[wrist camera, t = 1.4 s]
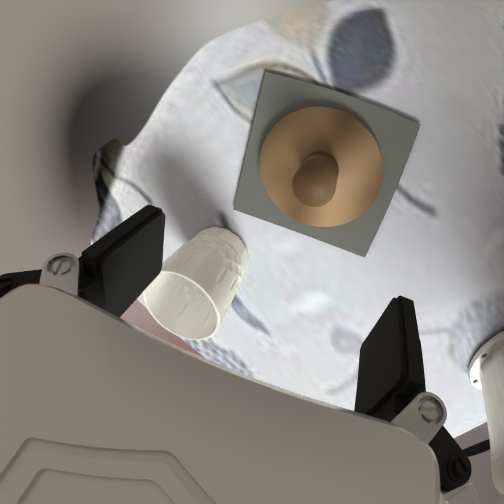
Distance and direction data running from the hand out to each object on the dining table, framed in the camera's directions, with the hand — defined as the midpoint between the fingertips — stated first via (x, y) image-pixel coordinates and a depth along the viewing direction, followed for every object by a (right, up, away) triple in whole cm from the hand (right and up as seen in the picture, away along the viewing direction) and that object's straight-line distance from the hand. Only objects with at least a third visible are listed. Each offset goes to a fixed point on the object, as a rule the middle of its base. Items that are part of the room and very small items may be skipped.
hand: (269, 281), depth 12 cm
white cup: (-4, +1, +23) cm, 24 cm away
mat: (+6, +9, +15) cm, 18 cm away
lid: (+5, +9, +15) cm, 18 cm away
